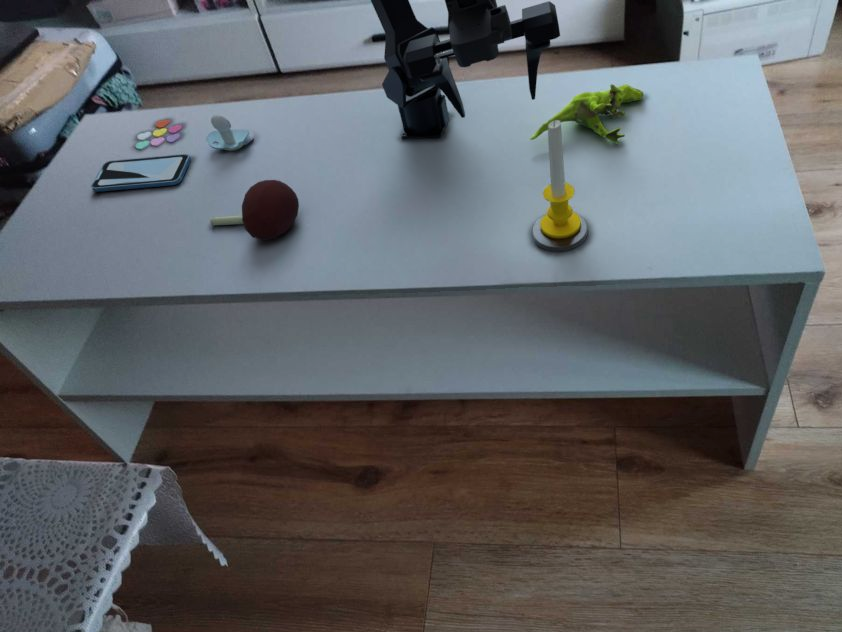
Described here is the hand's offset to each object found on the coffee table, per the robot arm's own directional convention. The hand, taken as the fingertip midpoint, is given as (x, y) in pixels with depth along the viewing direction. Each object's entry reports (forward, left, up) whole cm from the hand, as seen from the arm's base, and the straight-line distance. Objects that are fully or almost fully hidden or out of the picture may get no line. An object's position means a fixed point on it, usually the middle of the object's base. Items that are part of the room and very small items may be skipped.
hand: (498, 107), depth 90 cm
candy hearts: (-64, +13, -12) cm, 66 cm away
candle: (+9, -10, -11) cm, 17 cm away
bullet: (-42, -10, -11) cm, 45 cm away
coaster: (+8, -10, -12) cm, 18 cm away
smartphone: (-60, +1, -12) cm, 62 cm away
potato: (-34, -9, -11) cm, 37 cm away
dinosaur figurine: (+10, +14, -12) cm, 21 cm away
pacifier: (-48, +10, -12) cm, 50 cm away
